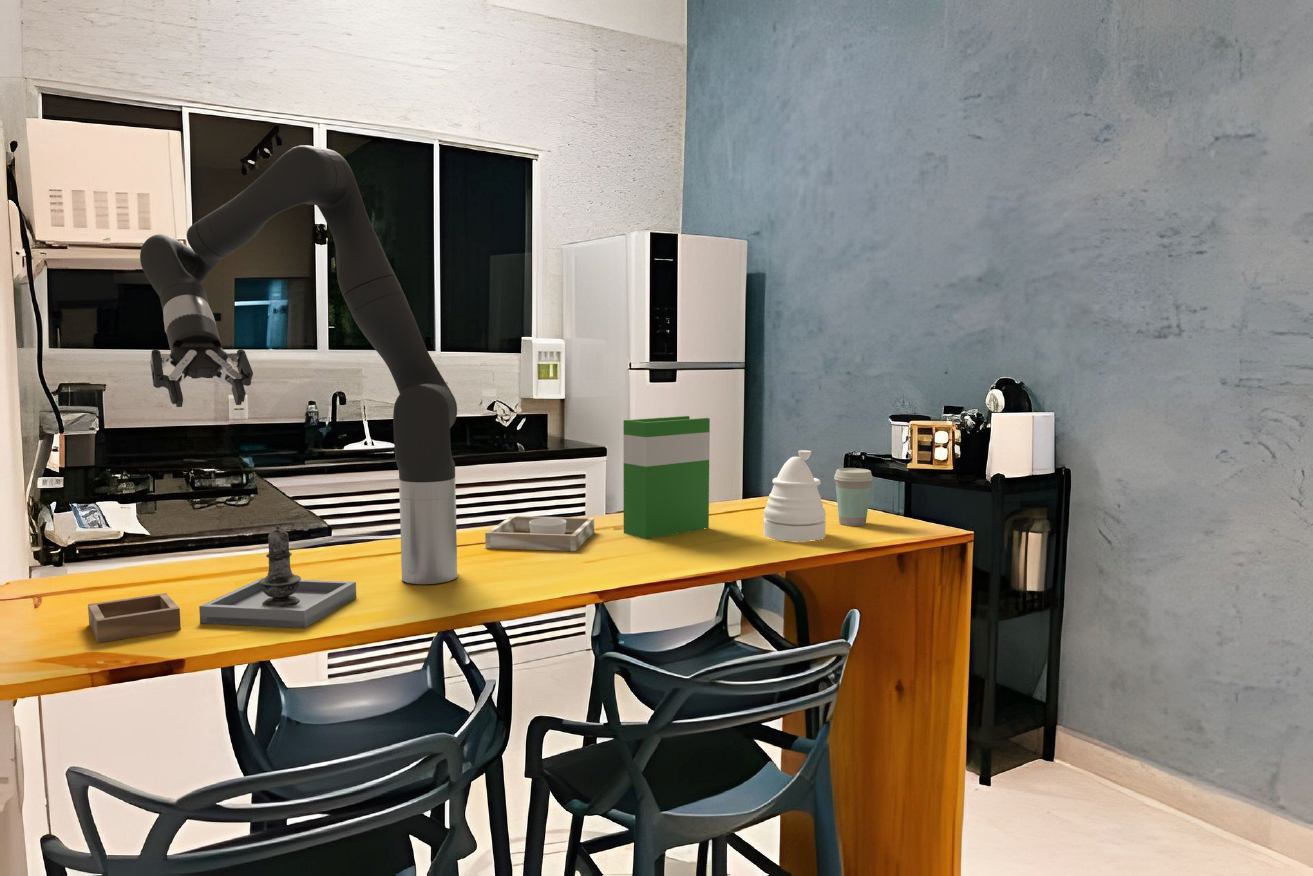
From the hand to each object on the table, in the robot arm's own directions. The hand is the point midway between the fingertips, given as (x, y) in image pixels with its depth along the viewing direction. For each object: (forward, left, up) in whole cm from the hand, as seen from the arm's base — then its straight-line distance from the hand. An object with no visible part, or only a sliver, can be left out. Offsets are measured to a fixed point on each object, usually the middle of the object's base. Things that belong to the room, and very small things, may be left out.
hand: (210, 402), depth 145 cm
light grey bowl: (-45, +42, -31) cm, 69 cm away
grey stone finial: (+6, +14, -30) cm, 33 cm away
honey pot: (-60, +91, -31) cm, 113 cm away
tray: (+6, +14, -31) cm, 34 cm away
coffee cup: (-75, +104, -31) cm, 132 cm away
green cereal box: (-61, +64, -31) cm, 94 cm away
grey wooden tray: (-48, +40, -31) cm, 70 cm away
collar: (+17, -2, -31) cm, 35 cm away
